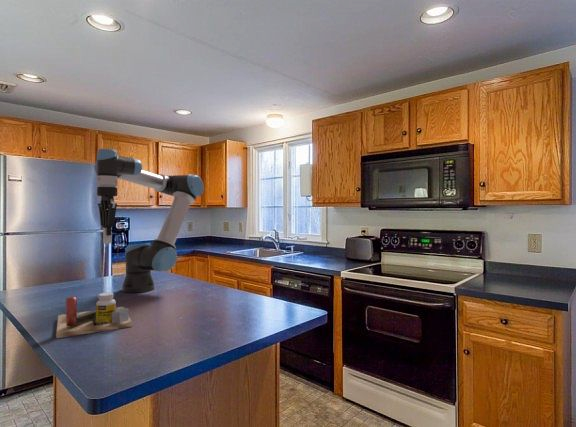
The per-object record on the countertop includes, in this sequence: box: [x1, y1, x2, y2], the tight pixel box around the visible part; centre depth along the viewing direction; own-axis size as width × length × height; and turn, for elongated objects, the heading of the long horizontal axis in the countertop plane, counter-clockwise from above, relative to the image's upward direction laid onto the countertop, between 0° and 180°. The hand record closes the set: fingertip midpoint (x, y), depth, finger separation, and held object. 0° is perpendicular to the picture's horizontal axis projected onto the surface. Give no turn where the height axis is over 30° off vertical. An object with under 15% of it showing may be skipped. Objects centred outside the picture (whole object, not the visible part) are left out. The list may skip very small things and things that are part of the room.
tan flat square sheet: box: [55, 306, 133, 339], centre depth 126 cm, size 22×22×2 cm
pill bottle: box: [95, 292, 117, 326], centre depth 124 cm, size 6×6×11 cm
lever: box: [65, 296, 96, 326], centre depth 124 cm, size 16×4×9 cm, turn 162°
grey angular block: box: [112, 307, 130, 329], centre depth 123 cm, size 5×3×6 cm, turn 172°
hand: (107, 243), depth 147 cm, fingers closed
